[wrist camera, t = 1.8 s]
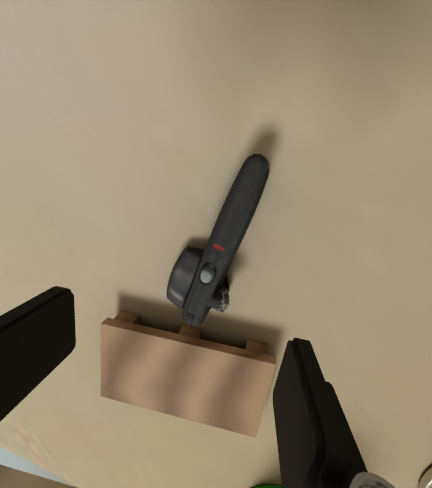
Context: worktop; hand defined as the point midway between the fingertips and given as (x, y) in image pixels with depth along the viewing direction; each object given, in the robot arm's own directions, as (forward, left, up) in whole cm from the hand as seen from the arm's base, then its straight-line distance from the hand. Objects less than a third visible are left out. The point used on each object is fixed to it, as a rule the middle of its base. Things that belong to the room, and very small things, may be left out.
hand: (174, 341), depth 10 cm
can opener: (0, -1, -16) cm, 16 cm away
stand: (+2, +17, -16) cm, 23 cm away
